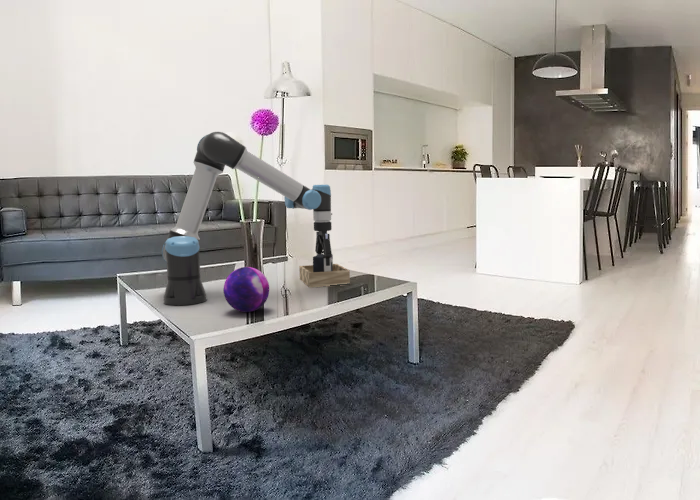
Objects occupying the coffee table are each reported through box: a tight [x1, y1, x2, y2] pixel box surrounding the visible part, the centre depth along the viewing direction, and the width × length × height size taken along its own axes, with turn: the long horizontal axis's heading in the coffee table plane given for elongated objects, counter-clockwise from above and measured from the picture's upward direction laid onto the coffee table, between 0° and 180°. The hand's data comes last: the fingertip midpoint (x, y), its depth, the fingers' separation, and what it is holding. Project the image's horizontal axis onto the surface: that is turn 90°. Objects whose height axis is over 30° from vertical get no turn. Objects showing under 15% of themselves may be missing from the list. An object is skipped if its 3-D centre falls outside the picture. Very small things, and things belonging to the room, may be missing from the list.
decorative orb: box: [223, 266, 270, 313], centre depth 191 cm, size 15×15×15 cm
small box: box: [312, 253, 334, 272], centre depth 244 cm, size 11×6×10 cm, turn 167°
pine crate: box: [298, 263, 351, 289], centre depth 244 cm, size 21×17×6 cm
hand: (323, 271), depth 244 cm, fingers open, 13 cm apart
